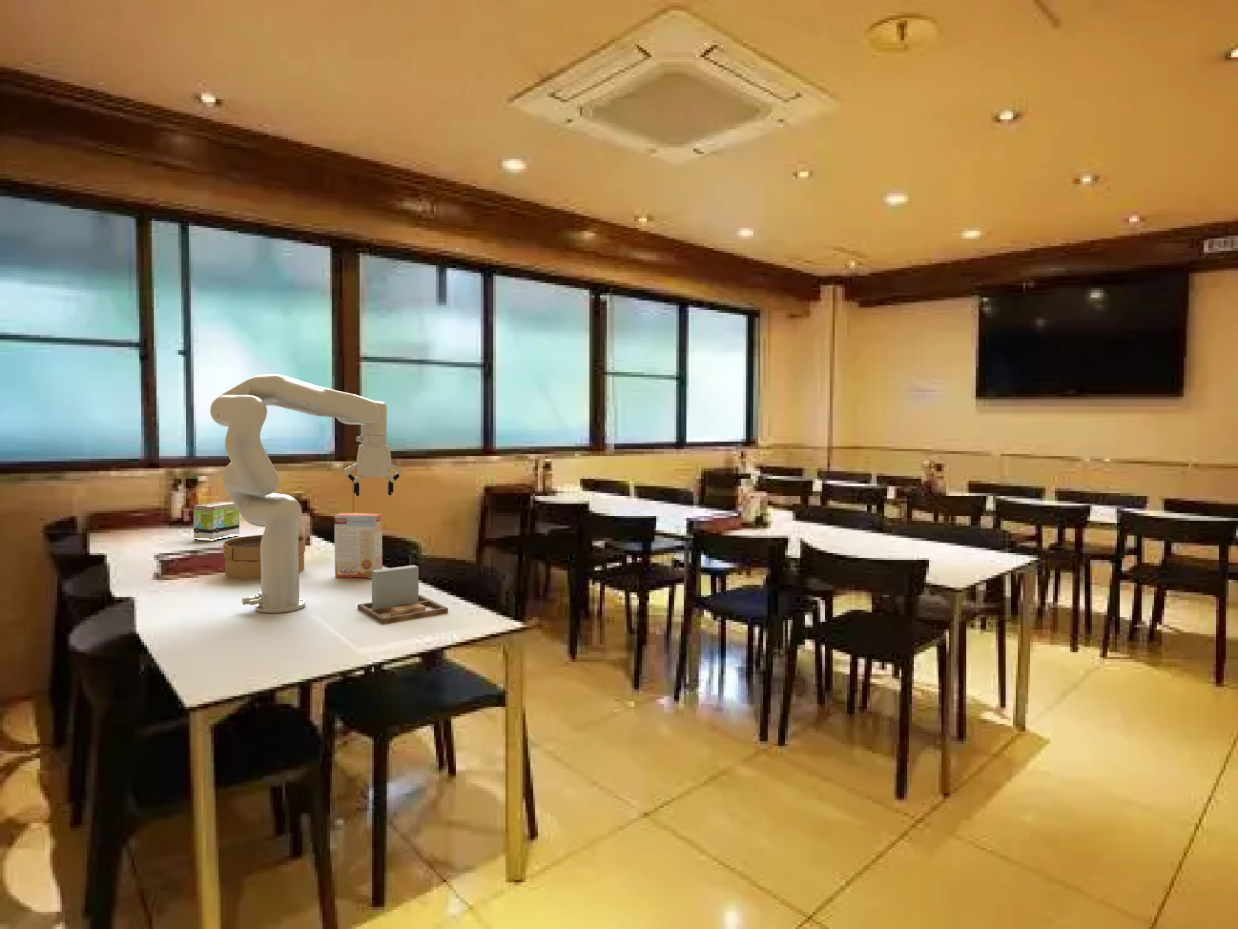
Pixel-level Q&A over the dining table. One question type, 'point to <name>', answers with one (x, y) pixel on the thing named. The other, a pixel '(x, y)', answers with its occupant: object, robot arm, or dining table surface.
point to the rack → (423, 601)
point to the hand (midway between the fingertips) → (373, 495)
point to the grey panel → (395, 586)
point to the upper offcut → (407, 609)
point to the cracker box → (357, 544)
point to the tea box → (215, 520)
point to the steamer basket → (250, 557)
